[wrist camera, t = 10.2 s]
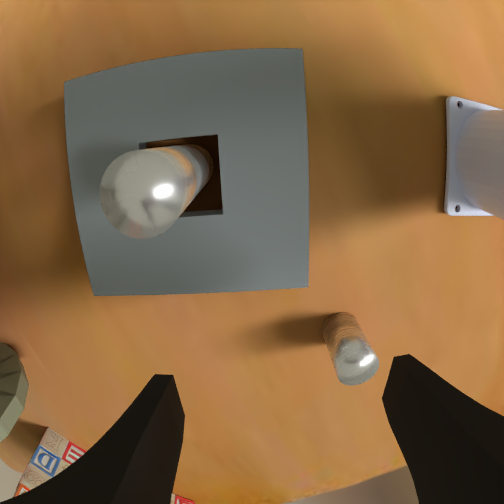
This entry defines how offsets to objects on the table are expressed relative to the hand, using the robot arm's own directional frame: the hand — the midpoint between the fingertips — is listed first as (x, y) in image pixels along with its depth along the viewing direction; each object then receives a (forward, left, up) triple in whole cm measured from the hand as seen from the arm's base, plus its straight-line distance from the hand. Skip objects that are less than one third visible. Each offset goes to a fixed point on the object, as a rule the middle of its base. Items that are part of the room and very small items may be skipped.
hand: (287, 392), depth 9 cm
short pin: (-5, +5, -10) cm, 13 cm away
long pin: (+4, -6, -10) cm, 13 cm away
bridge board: (+4, -6, -10) cm, 13 cm away
